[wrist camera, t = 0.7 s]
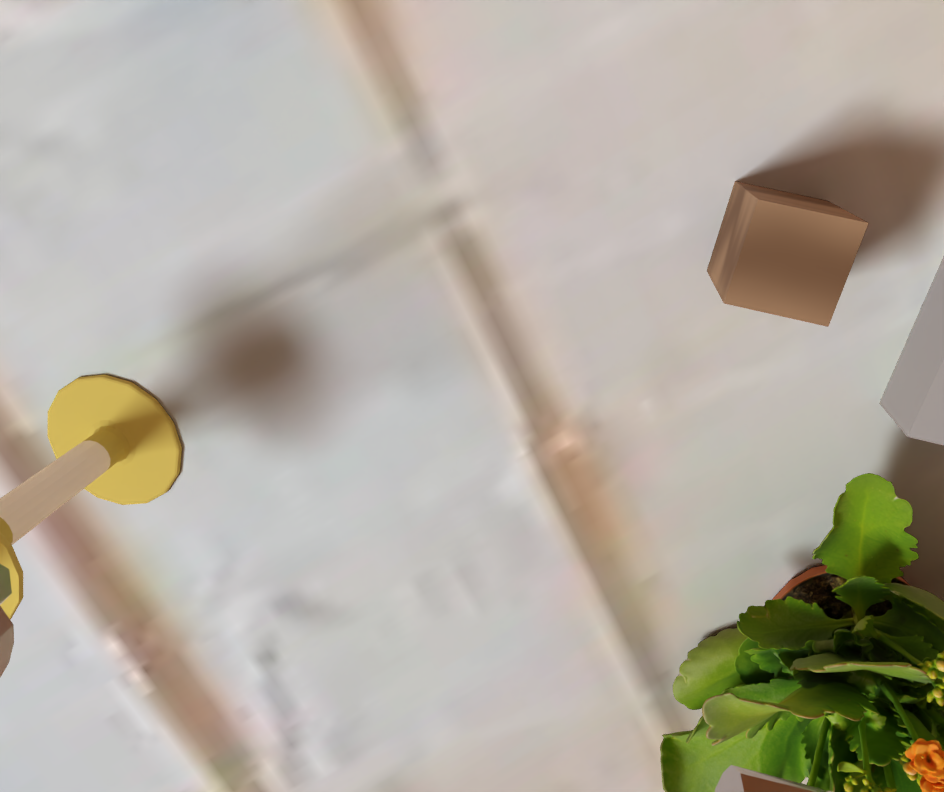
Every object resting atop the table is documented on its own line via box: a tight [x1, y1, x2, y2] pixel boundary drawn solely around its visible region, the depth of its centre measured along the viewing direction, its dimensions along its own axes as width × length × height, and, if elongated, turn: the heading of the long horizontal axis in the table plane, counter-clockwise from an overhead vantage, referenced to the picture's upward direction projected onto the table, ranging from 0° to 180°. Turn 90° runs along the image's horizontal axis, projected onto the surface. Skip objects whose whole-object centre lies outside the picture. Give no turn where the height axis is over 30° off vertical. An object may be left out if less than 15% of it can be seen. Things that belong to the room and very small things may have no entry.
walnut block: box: [707, 181, 869, 326], centre depth 40 cm, size 5×5×7 cm
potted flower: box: [660, 473, 944, 792], centre depth 43 cm, size 25×24×18 cm
